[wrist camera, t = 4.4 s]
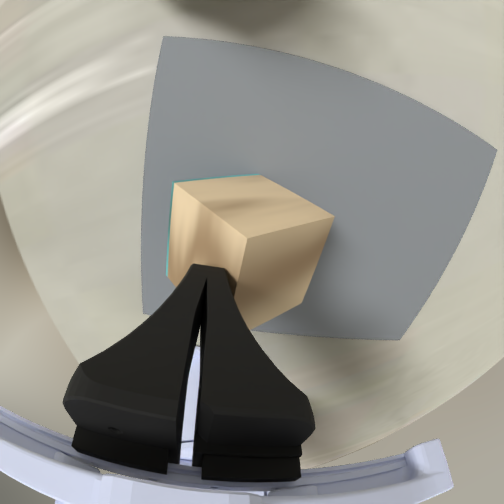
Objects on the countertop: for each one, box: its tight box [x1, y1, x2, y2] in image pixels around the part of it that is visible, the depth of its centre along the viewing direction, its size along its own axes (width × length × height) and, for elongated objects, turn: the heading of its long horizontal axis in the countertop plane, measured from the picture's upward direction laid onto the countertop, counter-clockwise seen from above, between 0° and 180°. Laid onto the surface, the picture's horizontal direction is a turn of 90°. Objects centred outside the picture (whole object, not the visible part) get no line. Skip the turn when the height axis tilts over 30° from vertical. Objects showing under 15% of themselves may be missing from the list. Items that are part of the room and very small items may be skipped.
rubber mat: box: [141, 36, 497, 340], centre depth 19 cm, size 20×24×1 cm
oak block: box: [166, 174, 335, 330], centre depth 15 cm, size 6×6×6 cm
